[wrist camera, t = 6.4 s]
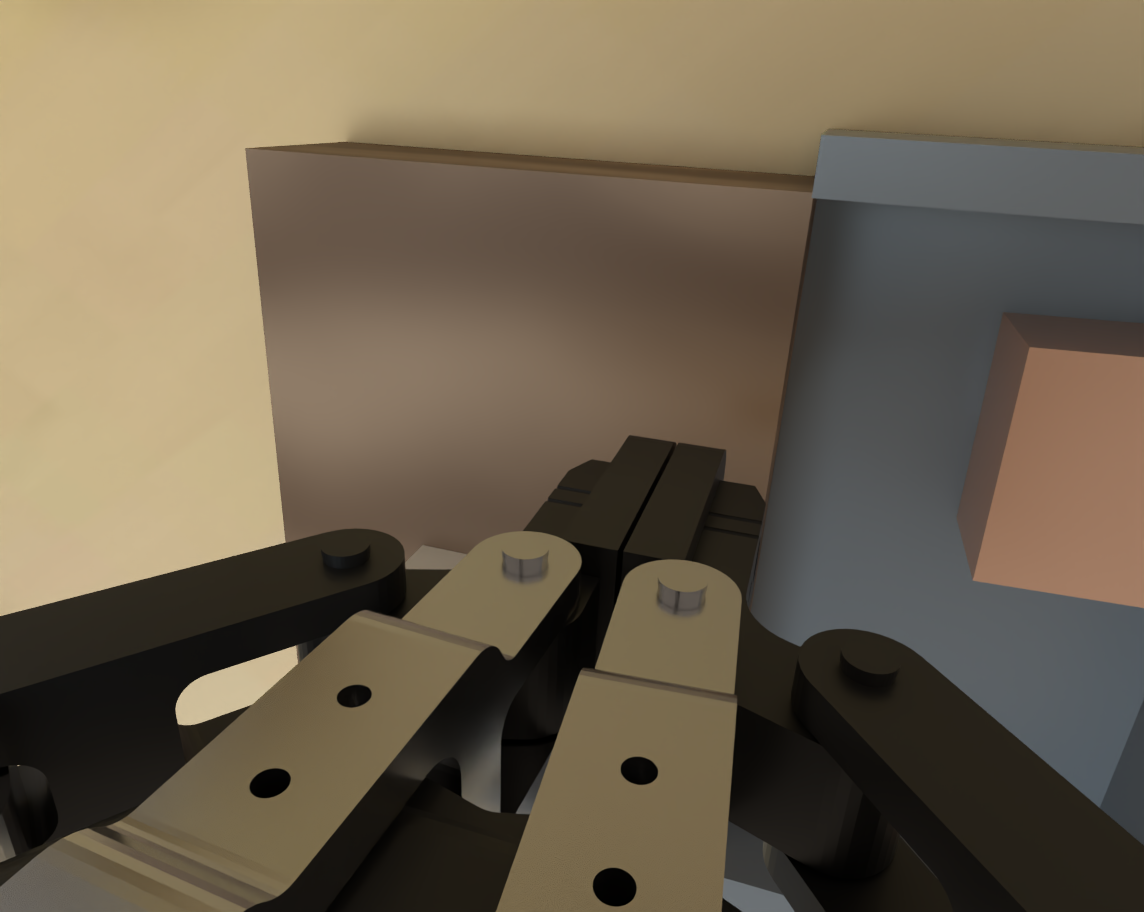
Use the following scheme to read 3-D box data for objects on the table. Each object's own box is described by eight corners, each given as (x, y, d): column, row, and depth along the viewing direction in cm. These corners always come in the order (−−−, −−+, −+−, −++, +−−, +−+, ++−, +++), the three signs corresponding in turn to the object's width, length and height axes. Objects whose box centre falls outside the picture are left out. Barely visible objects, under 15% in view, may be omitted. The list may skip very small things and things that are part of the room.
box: (828, 128, 18) (821, 135, 14) (1411, 163, 15) (1636, 184, 11) (726, 762, 25) (700, 900, 21) (1112, 861, 23) (1176, 1042, 18)
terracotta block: (1356, 376, 14) (1276, 334, 17) (1029, 346, 15) (1002, 312, 18) (1254, 626, 16) (1197, 552, 19) (972, 581, 17) (956, 518, 20)
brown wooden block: (344, 141, 22) (245, 148, 18) (821, 176, 18) (813, 193, 15) (373, 649, 28) (304, 727, 24) (731, 737, 25) (711, 840, 21)
